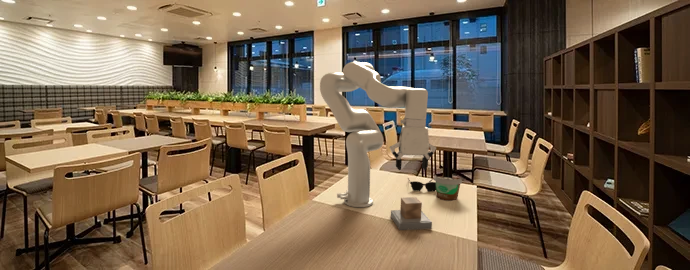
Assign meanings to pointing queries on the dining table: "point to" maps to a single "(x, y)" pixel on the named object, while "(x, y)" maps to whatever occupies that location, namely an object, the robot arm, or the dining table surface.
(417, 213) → the cube
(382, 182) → the dining table surface
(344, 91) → the robot arm
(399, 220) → the tray
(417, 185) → the sunglasses
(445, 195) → the food container
